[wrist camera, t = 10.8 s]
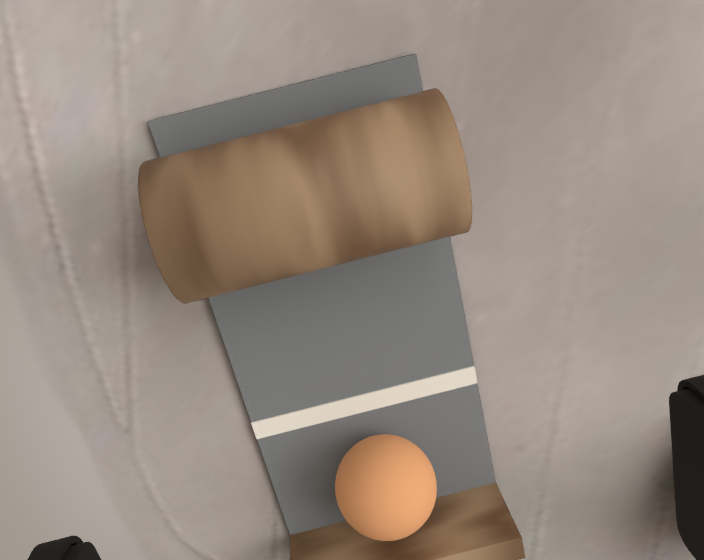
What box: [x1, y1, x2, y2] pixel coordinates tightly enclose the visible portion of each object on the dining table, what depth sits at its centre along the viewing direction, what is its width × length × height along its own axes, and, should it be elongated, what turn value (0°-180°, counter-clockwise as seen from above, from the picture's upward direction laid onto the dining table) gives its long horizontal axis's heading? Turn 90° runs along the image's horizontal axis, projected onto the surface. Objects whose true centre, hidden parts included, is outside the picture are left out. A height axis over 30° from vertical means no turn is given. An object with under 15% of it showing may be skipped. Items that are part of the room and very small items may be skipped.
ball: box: [335, 434, 437, 541], centre depth 38 cm, size 6×6×6 cm
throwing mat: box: [148, 54, 496, 535], centre depth 38 cm, size 14×29×1 cm, turn 13°
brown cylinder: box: [138, 89, 472, 303], centre depth 31 cm, size 14×7×7 cm, turn 103°
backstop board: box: [290, 483, 525, 560], centre depth 40 cm, size 14×2×5 cm, turn 103°
